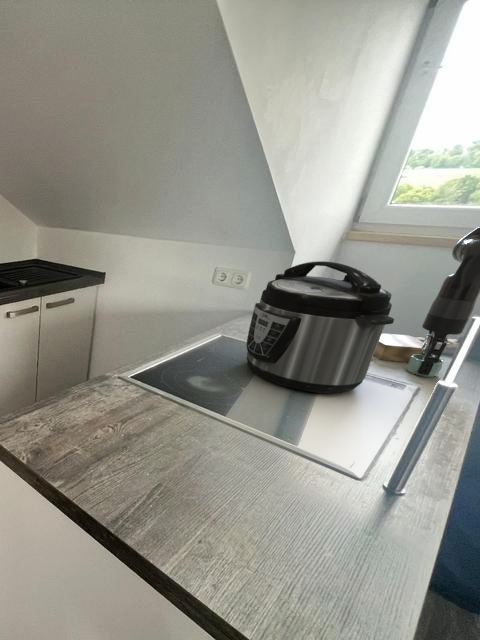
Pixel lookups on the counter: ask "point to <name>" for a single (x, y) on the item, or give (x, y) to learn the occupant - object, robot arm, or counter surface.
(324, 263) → the pressure cooker
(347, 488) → the counter surface
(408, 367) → the bowl
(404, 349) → the riser
